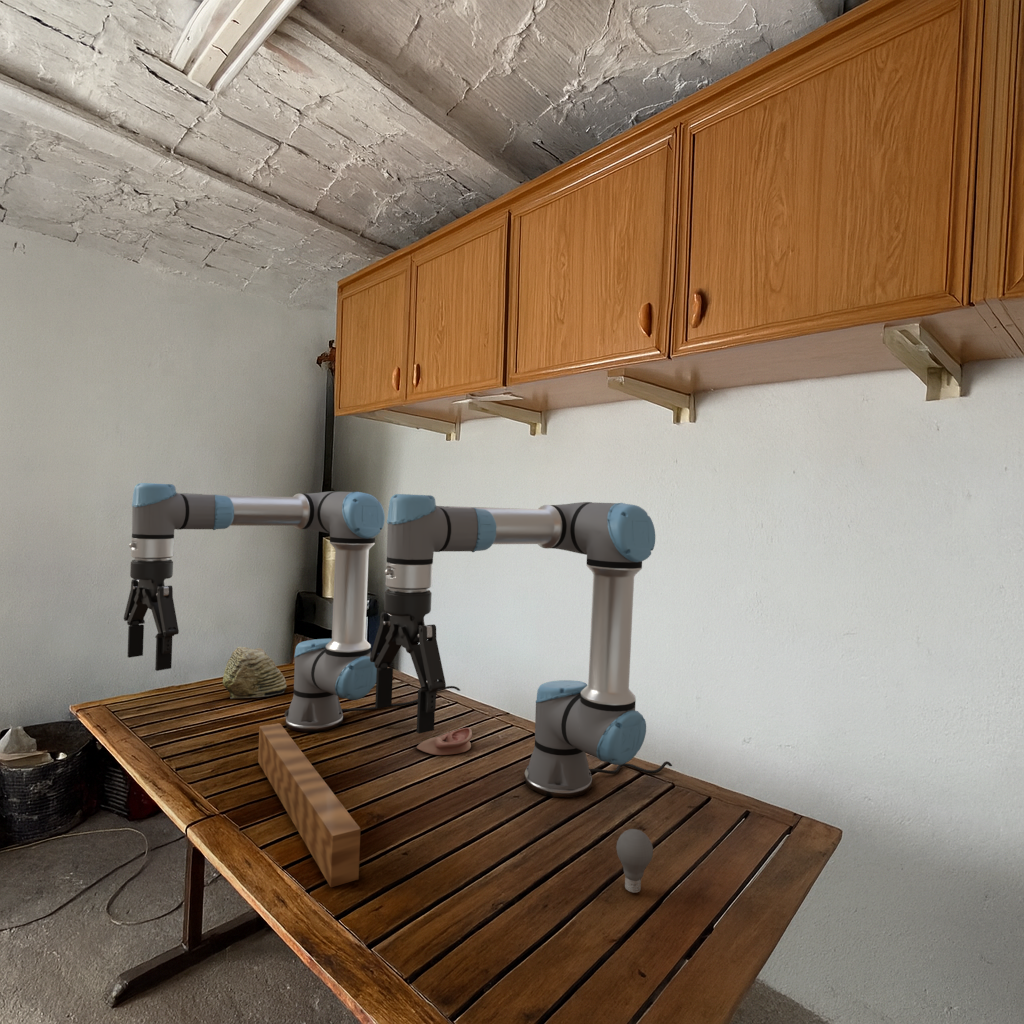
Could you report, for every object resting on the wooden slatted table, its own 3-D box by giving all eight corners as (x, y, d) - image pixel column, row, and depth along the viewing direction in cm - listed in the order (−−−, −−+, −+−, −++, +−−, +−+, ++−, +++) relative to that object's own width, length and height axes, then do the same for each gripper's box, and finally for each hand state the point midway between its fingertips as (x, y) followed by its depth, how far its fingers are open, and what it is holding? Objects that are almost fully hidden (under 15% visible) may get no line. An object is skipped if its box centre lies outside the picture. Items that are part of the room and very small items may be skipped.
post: (258, 762, 149) (259, 726, 149) (278, 758, 152) (280, 722, 152) (330, 887, 103) (332, 836, 103) (358, 879, 106) (360, 828, 106)
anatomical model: (412, 736, 159) (428, 721, 170) (412, 752, 159) (427, 735, 170) (464, 742, 156) (476, 726, 167) (463, 758, 156) (475, 741, 167)
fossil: (218, 695, 195) (220, 647, 195) (278, 685, 208) (279, 640, 207) (228, 703, 189) (230, 653, 188) (289, 692, 201) (290, 645, 201)
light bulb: (610, 879, 108) (613, 822, 108) (644, 879, 109) (647, 822, 109) (619, 902, 102) (622, 840, 102) (655, 901, 103) (658, 840, 103)
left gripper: (108, 554, 134) (105, 654, 134) (159, 565, 118) (155, 678, 119) (146, 552, 140) (143, 648, 140) (199, 563, 124) (196, 671, 124)
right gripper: (353, 580, 110) (348, 701, 111) (429, 602, 91) (423, 748, 91) (391, 578, 115) (387, 694, 115) (472, 598, 96) (466, 737, 96)
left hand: (148, 662), depth 129 cm, fingers open, 13 cm apart
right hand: (403, 718), depth 103 cm, fingers open, 13 cm apart
